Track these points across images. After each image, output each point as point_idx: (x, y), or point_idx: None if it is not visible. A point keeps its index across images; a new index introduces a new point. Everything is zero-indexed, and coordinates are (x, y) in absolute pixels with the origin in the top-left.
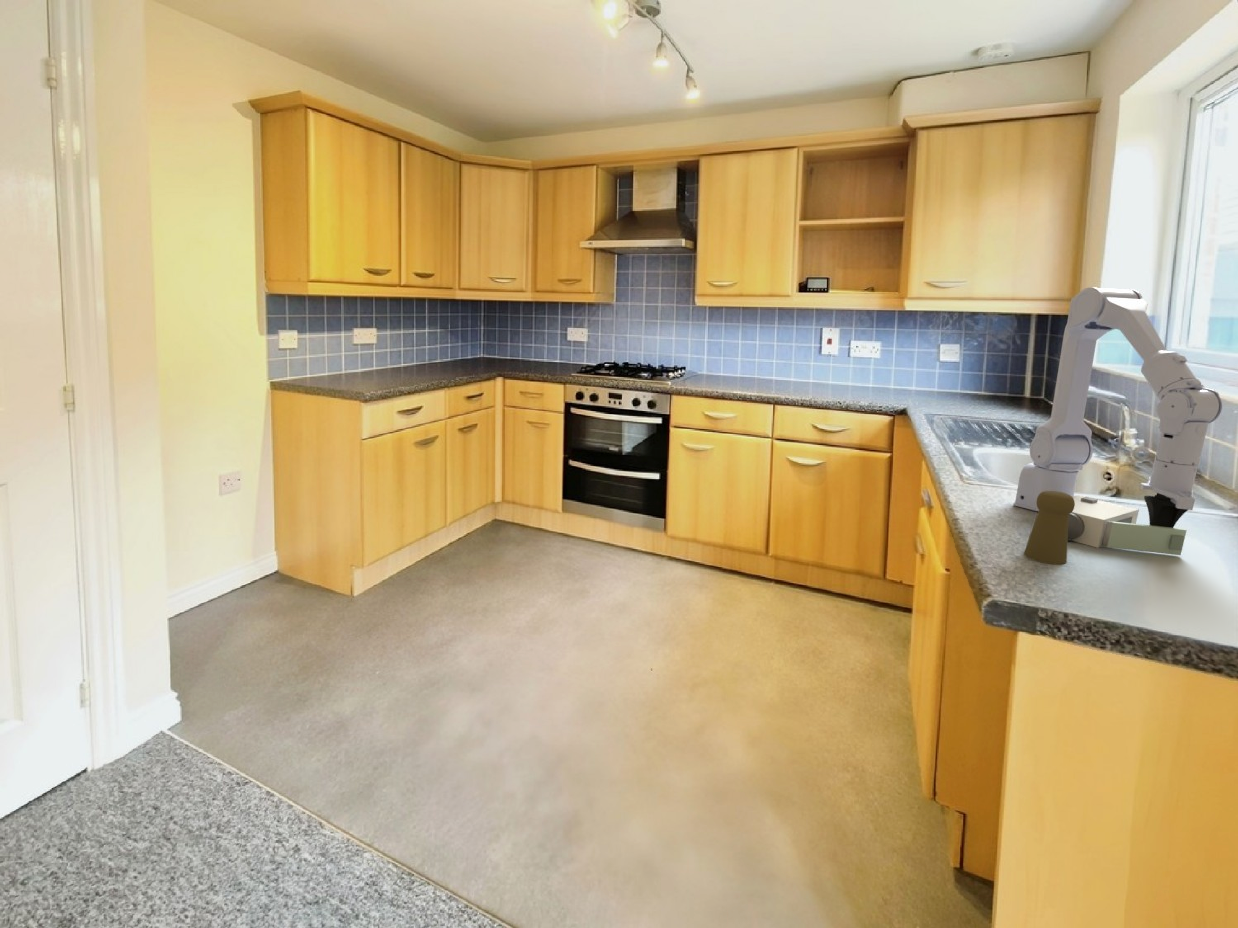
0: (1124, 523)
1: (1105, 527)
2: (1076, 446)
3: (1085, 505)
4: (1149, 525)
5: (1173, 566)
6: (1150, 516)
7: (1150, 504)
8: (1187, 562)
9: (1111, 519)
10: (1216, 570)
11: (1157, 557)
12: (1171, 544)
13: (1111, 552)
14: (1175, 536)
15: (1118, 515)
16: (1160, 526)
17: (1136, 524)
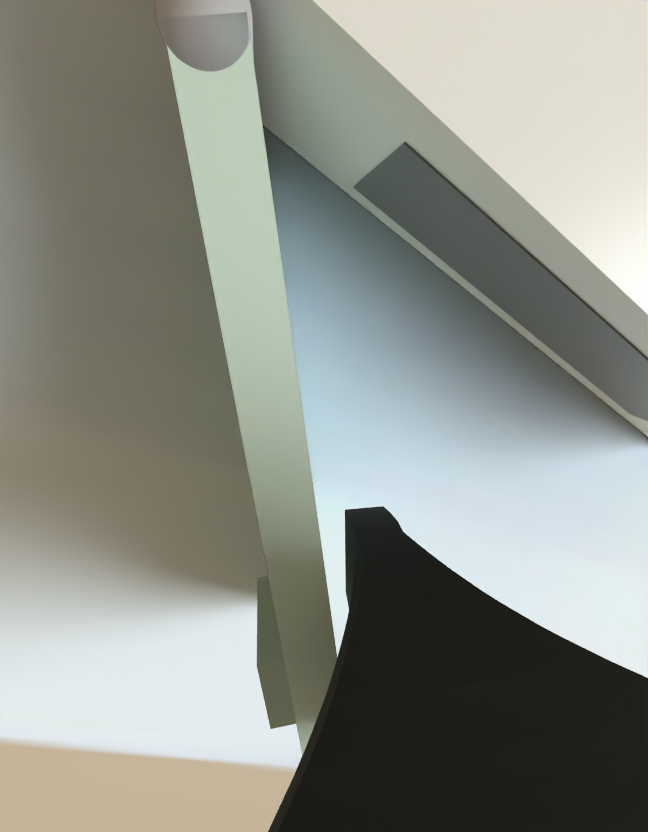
0: (224, 248)
1: (262, 39)
2: None
3: None
4: (310, 540)
5: (33, 533)
6: (449, 612)
7: (431, 801)
8: (197, 617)
9: (404, 109)
10: (124, 713)
11: (202, 483)
12: (257, 607)
13: (123, 171)
14: (259, 676)
15: (591, 258)
16: (331, 631)
17: (274, 406)
